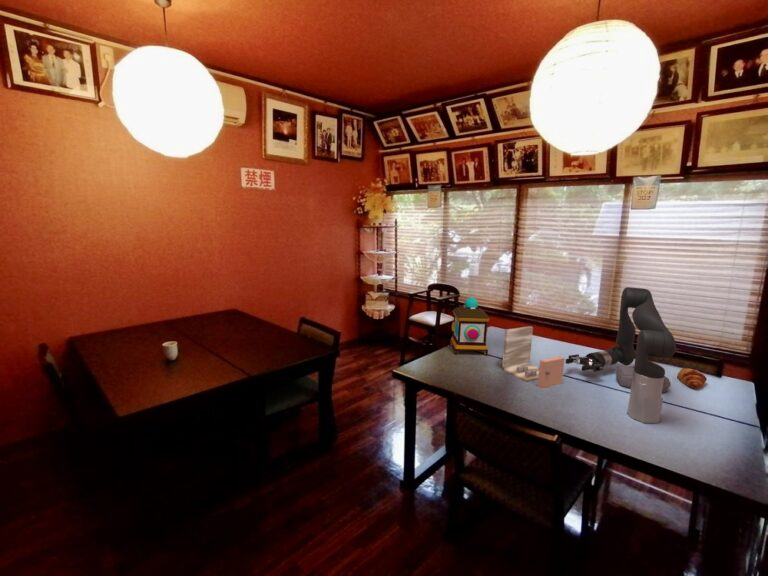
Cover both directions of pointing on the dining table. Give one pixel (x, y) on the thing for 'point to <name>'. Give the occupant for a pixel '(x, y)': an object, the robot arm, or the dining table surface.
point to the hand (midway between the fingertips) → (574, 364)
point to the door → (550, 372)
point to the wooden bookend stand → (519, 354)
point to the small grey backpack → (626, 375)
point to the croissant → (692, 377)
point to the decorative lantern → (469, 327)
